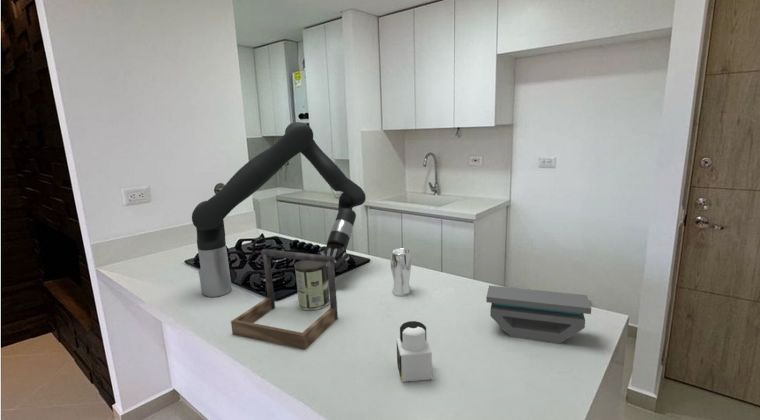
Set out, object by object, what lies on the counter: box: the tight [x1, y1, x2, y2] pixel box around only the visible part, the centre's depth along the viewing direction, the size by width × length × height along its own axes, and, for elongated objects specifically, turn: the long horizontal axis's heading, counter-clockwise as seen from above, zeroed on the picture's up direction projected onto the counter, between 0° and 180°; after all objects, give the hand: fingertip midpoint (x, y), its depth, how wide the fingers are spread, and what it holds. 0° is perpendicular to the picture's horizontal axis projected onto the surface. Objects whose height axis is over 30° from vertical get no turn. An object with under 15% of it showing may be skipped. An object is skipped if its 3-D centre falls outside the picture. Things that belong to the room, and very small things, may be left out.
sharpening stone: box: [485, 285, 592, 345], centre depth 105 cm, size 25×8×11 cm, turn 70°
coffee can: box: [294, 260, 330, 311], centre depth 128 cm, size 10×10×14 cm
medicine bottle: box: [396, 320, 433, 383], centre depth 91 cm, size 7×7×12 cm
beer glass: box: [390, 247, 412, 297], centre depth 134 cm, size 7×7×15 cm
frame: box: [230, 248, 339, 350], centre depth 114 cm, size 18×25×20 cm
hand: (326, 278), depth 137 cm, fingers closed
